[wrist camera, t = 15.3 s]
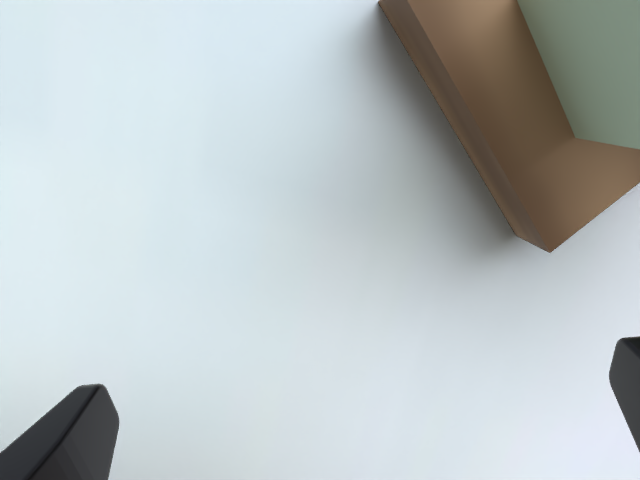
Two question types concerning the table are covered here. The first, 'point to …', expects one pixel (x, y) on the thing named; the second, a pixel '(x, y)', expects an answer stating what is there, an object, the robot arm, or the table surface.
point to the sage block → (592, 64)
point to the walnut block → (511, 116)
